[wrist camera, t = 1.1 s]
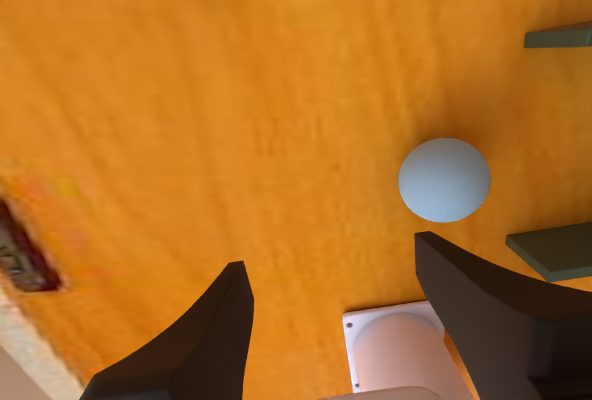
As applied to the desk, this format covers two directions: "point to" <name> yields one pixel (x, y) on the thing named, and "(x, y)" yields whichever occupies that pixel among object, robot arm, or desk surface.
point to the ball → (444, 180)
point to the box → (564, 240)
